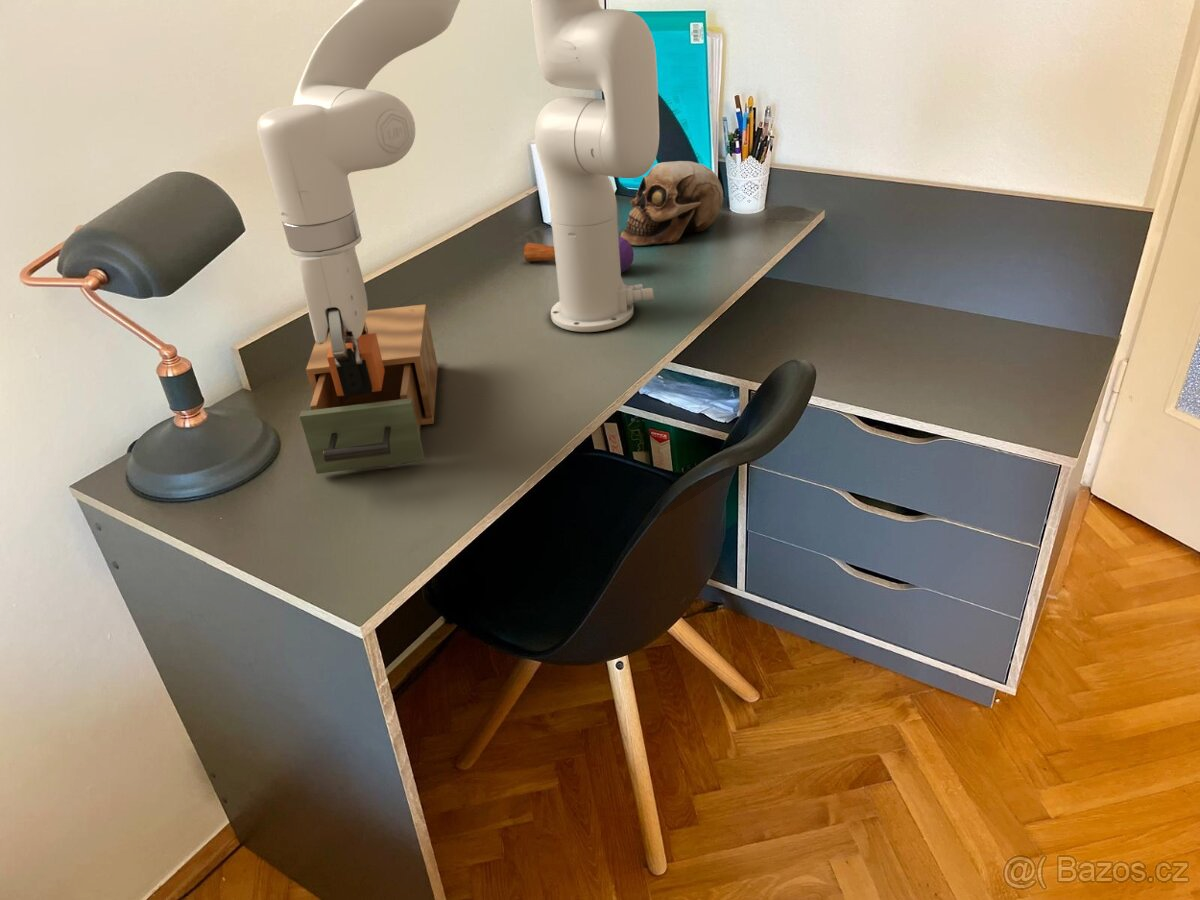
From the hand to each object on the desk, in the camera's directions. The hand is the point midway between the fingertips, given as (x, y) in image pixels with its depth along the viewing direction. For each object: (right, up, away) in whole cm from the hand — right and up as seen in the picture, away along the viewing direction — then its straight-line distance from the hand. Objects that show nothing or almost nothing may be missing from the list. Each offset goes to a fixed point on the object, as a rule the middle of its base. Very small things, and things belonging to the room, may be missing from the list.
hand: (360, 380), depth 105 cm
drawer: (+1, -8, +4) cm, 9 cm away
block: (0, 0, 0) cm, 0 cm away
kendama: (+24, +23, +49) cm, 60 cm away
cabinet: (-1, -1, +15) cm, 15 cm away
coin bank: (+41, +32, +60) cm, 80 cm away
